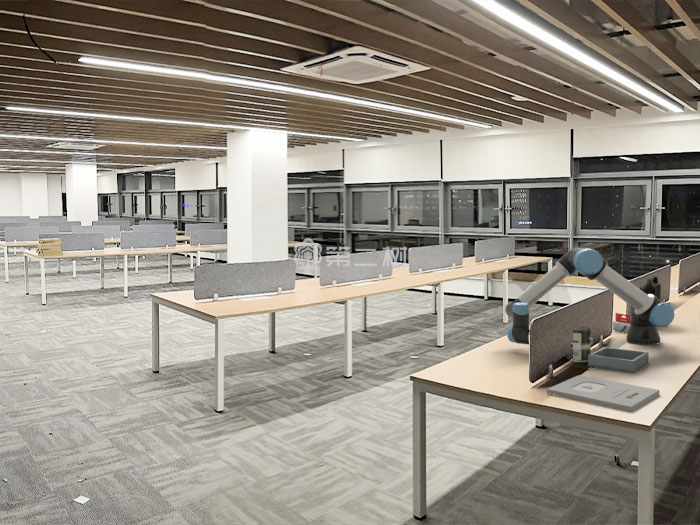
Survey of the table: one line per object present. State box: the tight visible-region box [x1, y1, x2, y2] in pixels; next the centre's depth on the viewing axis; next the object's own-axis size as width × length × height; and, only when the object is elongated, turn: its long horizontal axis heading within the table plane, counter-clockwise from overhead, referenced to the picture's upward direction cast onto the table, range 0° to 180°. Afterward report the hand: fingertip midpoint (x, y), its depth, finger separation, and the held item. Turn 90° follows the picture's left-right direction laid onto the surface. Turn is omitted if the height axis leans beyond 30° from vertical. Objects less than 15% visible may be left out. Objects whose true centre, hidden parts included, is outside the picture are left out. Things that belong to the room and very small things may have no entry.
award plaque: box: [546, 374, 661, 413], centre depth 211 cm, size 25×30×2 cm
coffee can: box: [570, 326, 592, 363], centre depth 260 cm, size 10×10×14 cm
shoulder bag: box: [639, 275, 662, 300], centre depth 331 cm, size 23×9×28 cm, turn 142°
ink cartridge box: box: [612, 312, 630, 334], centre depth 314 cm, size 2×11×10 cm, turn 25°
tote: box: [587, 346, 650, 374], centre depth 249 cm, size 18×18×5 cm
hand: (586, 344), depth 258 cm, fingers open, 12 cm apart
